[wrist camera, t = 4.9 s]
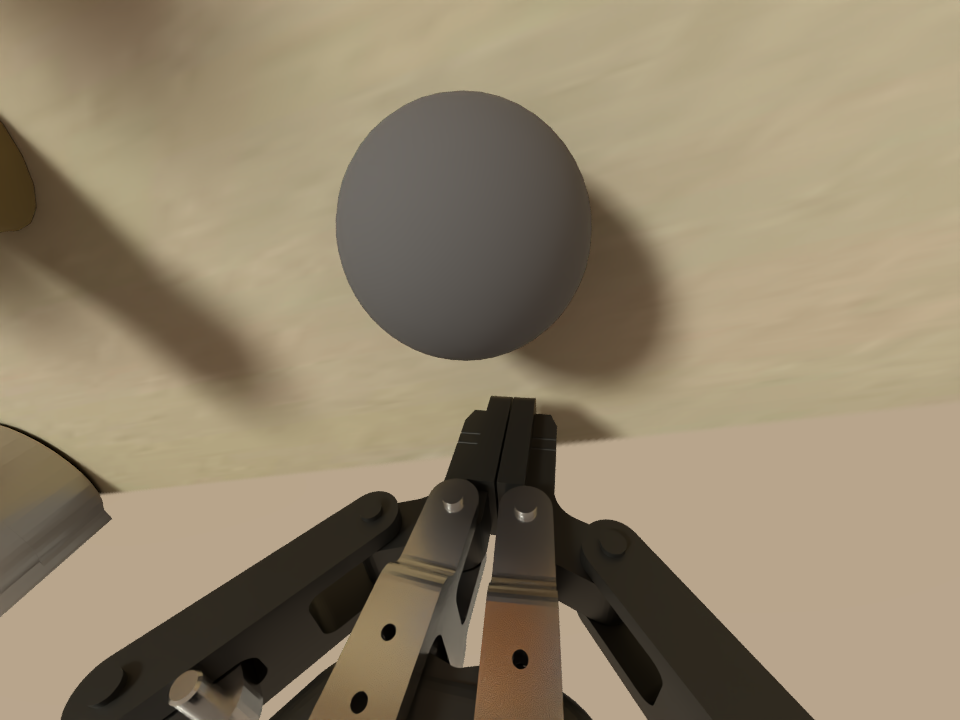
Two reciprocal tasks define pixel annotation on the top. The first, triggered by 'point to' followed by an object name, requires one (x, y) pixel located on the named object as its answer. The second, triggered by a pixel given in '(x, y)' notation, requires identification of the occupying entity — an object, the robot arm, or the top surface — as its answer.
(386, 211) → the gray ball
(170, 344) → the top surface
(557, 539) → the robot arm
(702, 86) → the top surface
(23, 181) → the cork
